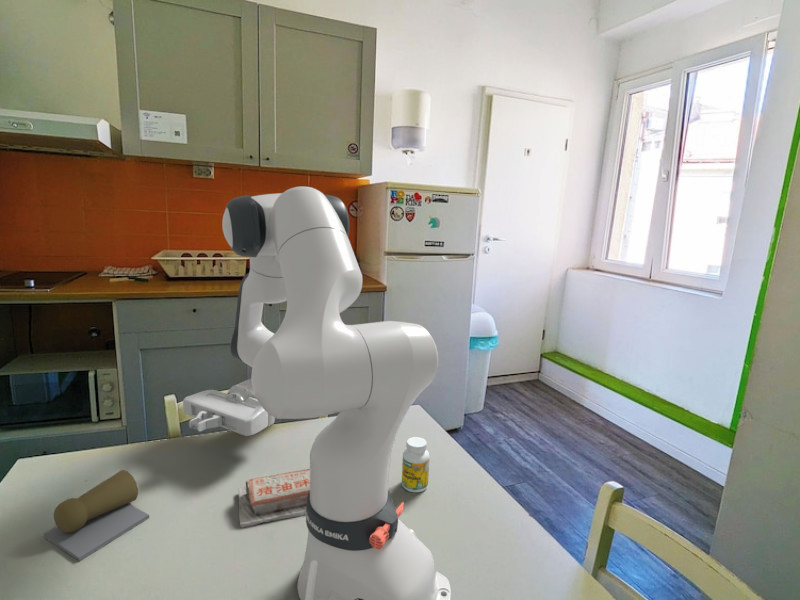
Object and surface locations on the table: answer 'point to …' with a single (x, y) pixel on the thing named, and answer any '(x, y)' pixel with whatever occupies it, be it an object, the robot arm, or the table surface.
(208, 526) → the table surface
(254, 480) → the packaged product
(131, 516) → the mat
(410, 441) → the supplement bottle
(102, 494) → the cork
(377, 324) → the robot arm
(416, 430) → the table surface
